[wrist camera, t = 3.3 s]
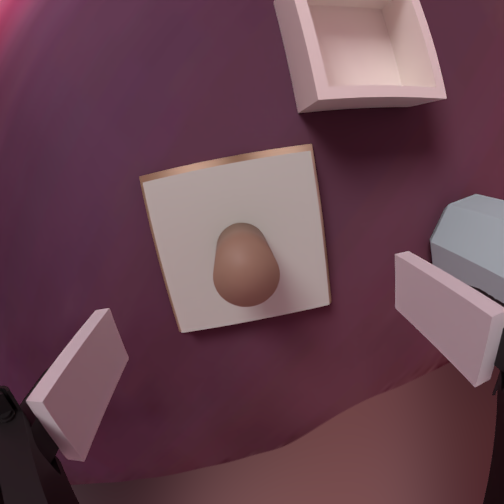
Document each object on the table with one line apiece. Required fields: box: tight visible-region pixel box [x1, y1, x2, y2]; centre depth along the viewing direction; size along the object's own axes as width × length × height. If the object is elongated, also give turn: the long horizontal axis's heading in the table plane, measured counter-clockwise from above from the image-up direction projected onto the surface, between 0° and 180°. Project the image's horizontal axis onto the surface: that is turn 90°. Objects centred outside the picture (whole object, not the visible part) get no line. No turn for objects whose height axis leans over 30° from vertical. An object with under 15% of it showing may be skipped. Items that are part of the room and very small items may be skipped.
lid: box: [143, 151, 329, 333], centre depth 20 cm, size 12×12×7 cm
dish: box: [274, 0, 447, 113], centre depth 18 cm, size 10×10×6 cm
